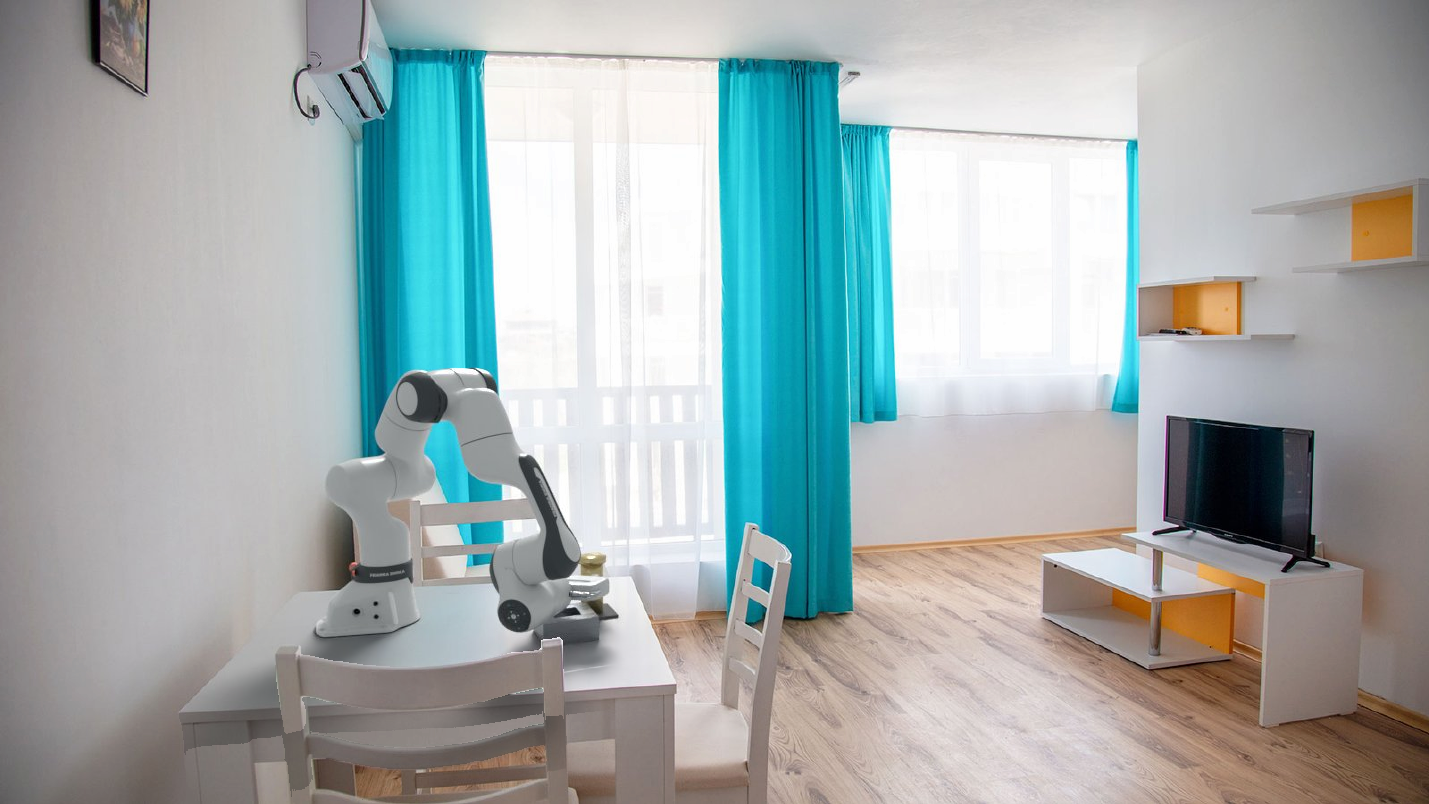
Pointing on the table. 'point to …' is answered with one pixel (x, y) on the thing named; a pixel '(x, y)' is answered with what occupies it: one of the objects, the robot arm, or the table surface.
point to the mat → (607, 612)
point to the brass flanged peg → (590, 566)
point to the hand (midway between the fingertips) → (577, 576)
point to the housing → (571, 625)
